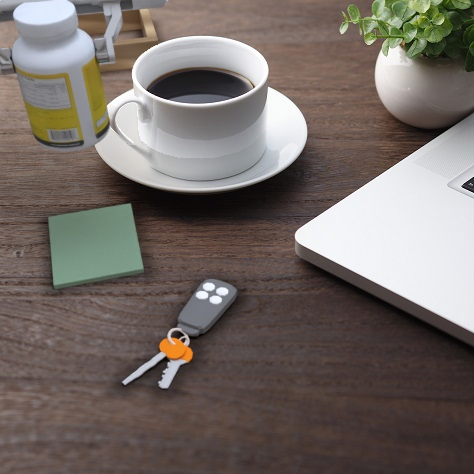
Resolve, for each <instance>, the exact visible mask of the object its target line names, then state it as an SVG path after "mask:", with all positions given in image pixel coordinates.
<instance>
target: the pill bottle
mask: <svg viewBox="0 0 474 474" xmlns="http://www.w3.org/2000/svg"><path fill="white" fill-rule="evenodd" d="M13 18H14V21H13V22H14V25H15V29H16V31H17V33H18V35H19V37H18V38H17V39H16V40H15V42H14V43H13V45H12V48H11V50H12V60H13V64H14V68H15V71H16V74H15V76H16V78H17V82H18V85H19V89H20V93H21V96H22V100H23V103H24V107H25V111H26V114H27V118H28V121H29V124H30V128H31V131H32V134H33V137H34V139H35V141H36V142H37V143H38V144H39V145H40V146H41V147H43V148H45V149H47V150H50V151H53V152H60V153H62V152H63V153H69V152H71V153H72V152H78V151H83V150H86V149H89V148H91V147H93V146H96V145H97V144H99V143H100V142H101V141H103V140H104V138H106V136H107V135H108V133H109V131H110V128H111V120H110V115H109V109H108V104H107V99H106V94H105V88H104V84H103V80H102V75H101V74H102V73H101V72H100V68H99V65H98V62H97V57H96V49H95V45H94V39H93V38H92V37H91V35H88V34H87V33H86V32H84V31H83V30H81V29H79V28H77V27H78V18H77V13H76V9H75V6H74V5H73V4H72V3H71V2H70V1H67V0H50V1H40V2H28V3H23V4H21V5H19V6H18V7H17V8H16V9H15V10H14V12H13Z"/></svg>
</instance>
